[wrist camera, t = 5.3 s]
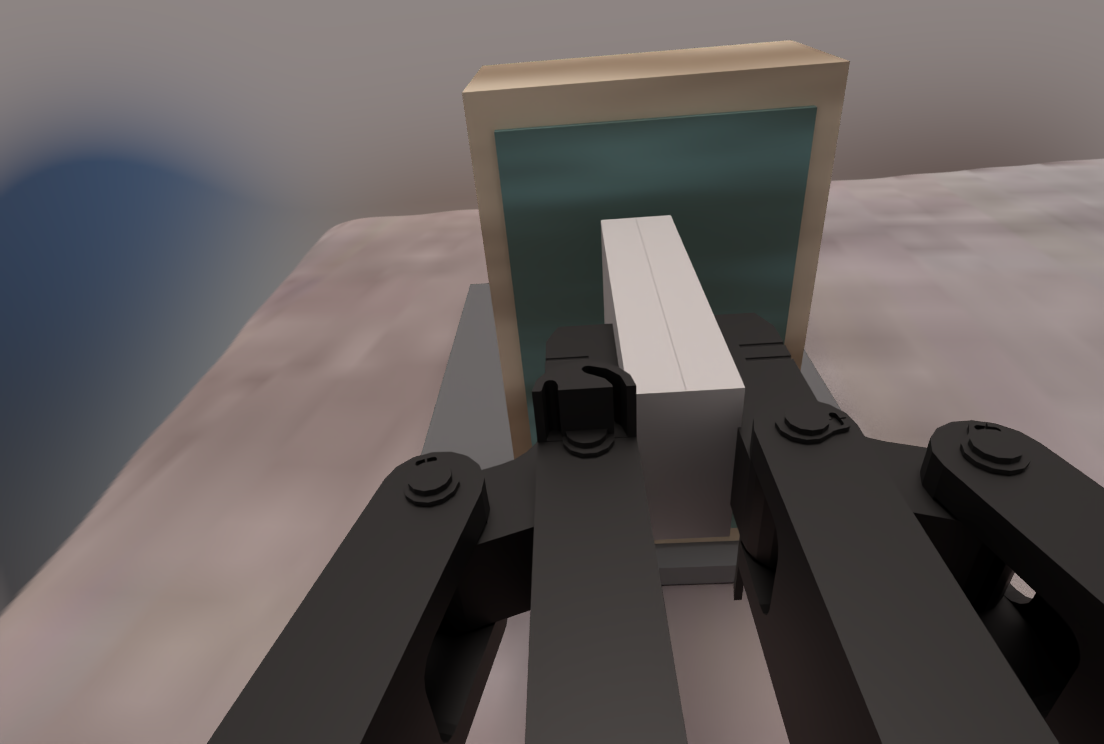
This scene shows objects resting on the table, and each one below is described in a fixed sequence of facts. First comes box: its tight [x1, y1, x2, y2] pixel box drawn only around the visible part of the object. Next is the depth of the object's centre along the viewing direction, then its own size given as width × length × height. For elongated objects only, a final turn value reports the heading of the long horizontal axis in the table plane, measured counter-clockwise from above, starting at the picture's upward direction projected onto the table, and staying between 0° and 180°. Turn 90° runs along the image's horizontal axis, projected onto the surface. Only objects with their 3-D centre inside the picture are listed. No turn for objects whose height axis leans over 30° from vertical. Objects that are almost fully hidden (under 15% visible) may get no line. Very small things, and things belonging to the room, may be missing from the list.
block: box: [462, 40, 850, 544], centre depth 19 cm, size 4×8×14 cm, turn 89°
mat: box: [421, 283, 841, 585], centre depth 29 cm, size 22×17×1 cm
